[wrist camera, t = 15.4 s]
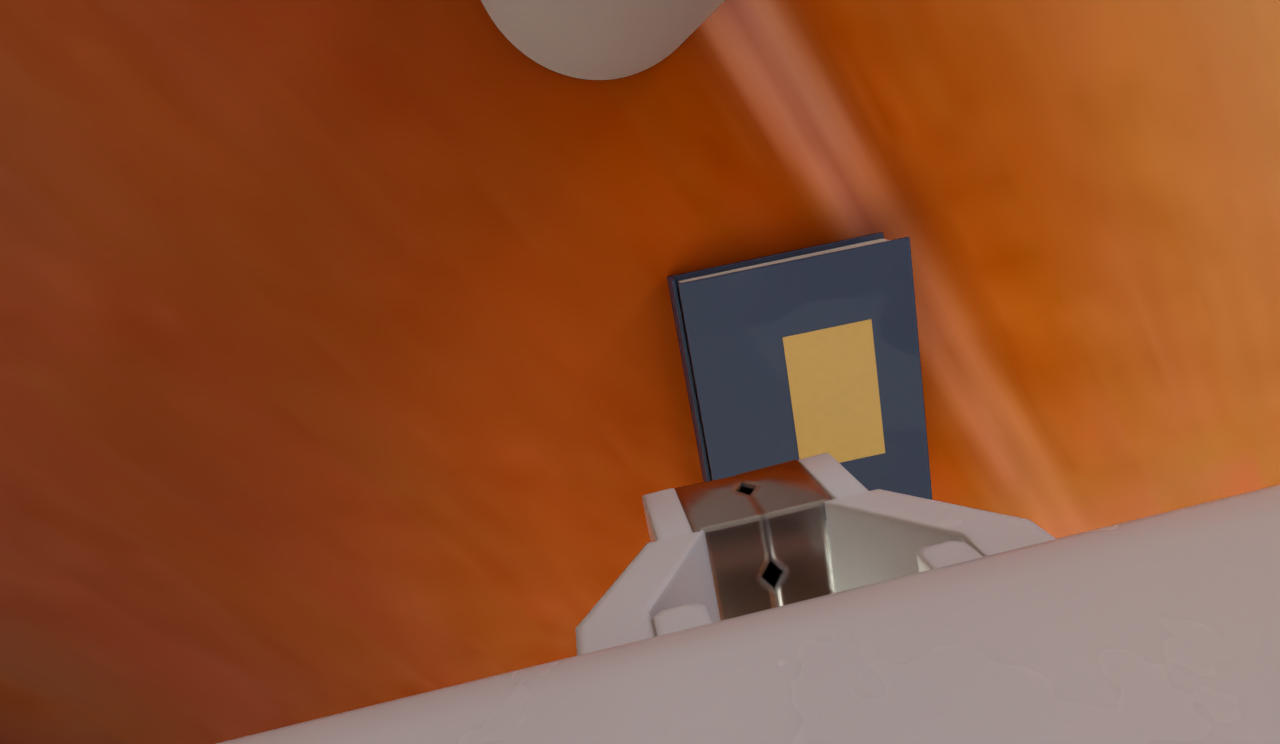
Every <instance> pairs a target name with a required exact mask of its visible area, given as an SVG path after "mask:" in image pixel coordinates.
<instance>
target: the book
mask: <svg viewBox="0 0 1280 744" xmlns="http://www.w3.org/2000/svg"><path fill="white" fill-rule="evenodd" d="M885 241H889V240H887V239H884V237H883V233H881V232H880V233H876V234H871V235H866V236H861V237H856V238H852V239H847V240H842V241H837V242H832V243H828V244H823V245H818V246H813V247H808V248H804V249H799V250H794V251H789V252H785V253H780V254H775V255H770V256H765V257H761V258H756V259H751V260H746V261H741V262H737V263H732V264H727V265H722V266H717V267H713V268H708V269H703V270H698V271H693V272H689V273H684V274H679V275H674V276H669V277H667V279H668V285H669V290H670V296H671V302H672V307H673V313H674V318H675V324H676V329H677V335H678V341H679V346H680V352H681V357H682V363H683V369H684V374H685V380H686V385H687V391H688V396H689V402H690V408H691V413H692V419H693V424H694V430H695V435H696V441H697V447H698V452H699V458H700V463H701V469H702V475H703V480H704V482H707V481H712V476H711V470H710V464H709V459H708V453H707V447H706V441H705V436H704V430H703V424H702V419H701V413H700V407H699V402H698V396H697V390H696V385H695V379H694V373H693V368H692V362H691V356H690V350H689V345H688V339H687V333H686V328H685V322H684V316H683V311H682V305H681V299H680V294H679V288H678V283H683V282H688V281H693V280H698V279H703V278H708V277H712V276H717V275H722V274H727V273H732V272H737V271H742V270H747V269H752V268H757V267H762V266H767V265H771V264H776V263H781V262H786V261H791V260H796V259H801V258H806V257H811V256H816V255H821V254H826V253H830V252H835V251H840V250H845V249H850V248H855V247H860V246H865V245H870V244H875V243H880V242H885Z"/></svg>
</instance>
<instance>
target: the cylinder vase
mask: <svg viewBox="0 0 1280 744" xmlns="http://www.w3.org/2000/svg"><path fill="white" fill-rule="evenodd" d="M724 1H725V0H481V2H482V4H483V5H484V7H485V9H486V11H487V13H488V14H489V16H490V17H491V19H492V20H493V22H494V23H495V25H496V26H497V27H498V29H499V30H500V31H501V32H502V34H503V35H504V36H505V37H506V38H507V39H508V40H509V41H510V42H511V43H512V44H513V45H514V46H515V47H516V48H517V49H518V50H520V51H521V52H522V53H523V54H525V55H526V56H527V57H529V58H530V59H532V60H533V61H535V62H536V63H538V64H540V65H542V66H544V67H546V68H548V69H550V70H552V71H555V72H557V73H560V74H563V75H566V76H570V77H574V78H579V79H587V80H610V79H617V78H622V77H627V76H630V75H633V74H636V73H639V72H641V71H644V70H646V69H648V68H650V67H652V66H654V65H655V64H657V63H659V62H660V61H662V60H663V59H665V58H666V57H667V56H669V55H670V54H671V53H672V52H674V51H675V50H676V49H677V48H678V47H679V46H680V45H681V44H682V43H683V42H684V41H685V40H686V39H687V38H688V37H689V36H690V35H691V34H692V33H693V32H694V31H695V30H696V29H697V28H698V27H699V26H700V25H701V24H702V23H703V22H704V21H705V20H706V19H707V18H708V17H709V16H710V15H711V14H712V13H713V12H714V11H715V10H716V9H717V8H718V7H719V6H720V5H721V4H722V3H723V2H724Z"/></svg>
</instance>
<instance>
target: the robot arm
mask: <svg viewBox="0 0 1280 744" xmlns="http://www.w3.org/2000/svg"><path fill="white" fill-rule="evenodd" d="M642 500H643V506H644V511H645V516H646V521H647V526H648V531H649V536H650V541H651V542H650V543H647V544H646V545H645V547H644V548H643V549H642V550H641V551H640V553H639V554H638V555H637V556H636V557H635V558H634V560H633V561H632V562H631V563H630V564H629V566H628V567H627V568H626V569H625V570H624V572H623V573H622V574H621V575H620V576H619V577H618V579H617V580H616V581H615V582H614V583H613V585H612V586H611V587H610V588H609V589H608V591H607V592H606V593H605V594H604V595H603V596H602V598H601V599H600V600H599V601H598V602H597V604H596V605H595V606H594V607H593V608H592V610H591V611H590V612H589V613H588V614H587V616H586V617H585V618H584V619H583V620H582V621H581V623H580V624H579V625H578V626H577V627H576V641H577V656H574V657H569V658H565V659H561V660H557V661H553V662H549V663H545V664H541V665H537V666H532V667H528V668H524V669H520V670H516V671H512V672H508V673H504V674H500V675H496V676H491V677H487V678H483V679H479V680H475V681H471V682H467V683H463V684H459V685H454V686H450V687H446V688H442V689H438V690H434V691H430V692H426V693H422V694H418V695H413V696H409V697H405V698H401V699H397V700H393V701H389V702H385V703H381V704H377V705H372V706H368V707H364V708H360V709H356V710H352V711H348V712H344V713H340V714H336V715H331V716H327V717H323V718H319V719H315V720H311V721H307V722H303V723H299V724H294V725H290V726H286V727H282V728H278V729H274V730H270V731H266V732H262V733H258V734H253V735H249V736H245V737H241V738H237V739H233V740H229V741H225V742H221V743H217V744H1280V485H1276V486H1272V487H1268V488H1264V489H1259V490H1255V491H1251V492H1247V493H1243V494H1239V495H1235V496H1231V497H1227V498H1222V499H1218V500H1214V501H1210V502H1206V503H1202V504H1198V505H1194V506H1190V507H1186V508H1181V509H1177V510H1173V511H1169V512H1165V513H1161V514H1157V515H1153V516H1149V517H1145V518H1140V519H1136V520H1132V521H1128V522H1124V523H1120V524H1116V525H1112V526H1108V527H1103V528H1099V529H1095V530H1091V531H1087V532H1083V533H1079V534H1075V535H1071V536H1067V537H1062V538H1058V539H1056V538H1055V537H1053V536H1052V535H1050V534H1049V533H1047V532H1046V531H1045V530H1043V529H1042V528H1040V527H1039V526H1037V525H1036V524H1035V523H1033V522H1032V521H1030V520H1028V519H1023V518H1018V517H1013V516H1008V515H1004V514H999V513H994V512H989V511H984V510H979V509H974V508H969V507H964V506H959V505H955V504H950V503H945V502H940V501H935V500H930V499H925V498H920V497H915V496H911V495H906V494H901V493H896V492H891V491H886V490H881V489H876V490H872V491H869V490H868V489H866V488H865V487H864V486H863V485H862V484H861V483H860V482H859V481H858V480H857V479H856V478H855V477H854V476H853V475H852V474H850V473H849V472H848V471H847V470H846V469H845V468H844V467H843V466H842V465H841V464H840V463H839V462H838V461H837V460H835V459H834V458H833V457H832V456H831V455H830V454H829V453H822V454H819V455H815V456H811V457H808V458H804V459H800V460H792V461H788V462H784V463H780V464H776V465H773V466H769V467H765V468H761V469H757V470H753V471H749V472H745V473H741V474H737V475H736V476H731V477H726V478H721V479H717V480H712V481H707V482H702V483H698V484H693V485H688V486H684V487H679V488H669V489H666V490H662V491H658V492H654V493H650V494H647V495H643V496H642Z"/></svg>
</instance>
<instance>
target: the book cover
mask: <svg viewBox="0 0 1280 744" xmlns="http://www.w3.org/2000/svg"><path fill="white" fill-rule="evenodd" d="M678 288H679V294H680V299H681V305H682V311H683V316H684V322H685V328H686V333H687V339H688V345H689V350H690V356H691V362H692V368H693V373H694V379H695V385H696V390H697V396H698V402H699V407H700V413H701V419H702V424H703V430H704V436H705V441H706V447H707V453H708V459H709V464H710V470H711V476H712V480H717V479H721V478H726V477H731V476H736V475H737V474H741V473H745V472H749V471H753V470H757V469H761V468H765V467H769V466H773V465H776V464H780V463H784V462H788V461H792V460H800V459H804V458H808V457H811V456H815V455H819V454H822V453H829V454H830V455H831V456H832V457H833V458H834V459H835V460H837V461H838V462H839V463H840V464H841V465H842V466H843V467H844V468H845V469H846V470H847V471H848V472H849V473H850V474H852V475H853V476H854V477H855V478H856V479H857V480H858V481H859V482H860V483H861V484H862V485H863V486H864V487H865V488H866V489H868V490H869V491H872V490H876V489H881V490H886V491H891V492H896V493H901V494H906V495H911V496H915V497H920V498H925V499H930V500H932V491H931V479H930V467H929V456H928V444H927V433H926V421H925V410H924V398H923V387H922V375H921V364H920V352H919V341H918V329H917V318H916V306H915V295H914V283H913V272H912V260H911V248H910V238H909V237H904V238H899V239H894V240H889V241H885V242H880V243H875V244H870V245H865V246H860V247H855V248H850V249H845V250H840V251H835V252H830V253H826V254H821V255H816V256H811V257H806V258H801V259H796V260H791V261H786V262H781V263H776V264H771V265H767V266H762V267H757V268H752V269H747V270H742V271H737V272H732V273H727V274H722V275H717V276H712V277H708V278H703V279H698V280H693V281H688V282H683V283H678Z"/></svg>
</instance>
